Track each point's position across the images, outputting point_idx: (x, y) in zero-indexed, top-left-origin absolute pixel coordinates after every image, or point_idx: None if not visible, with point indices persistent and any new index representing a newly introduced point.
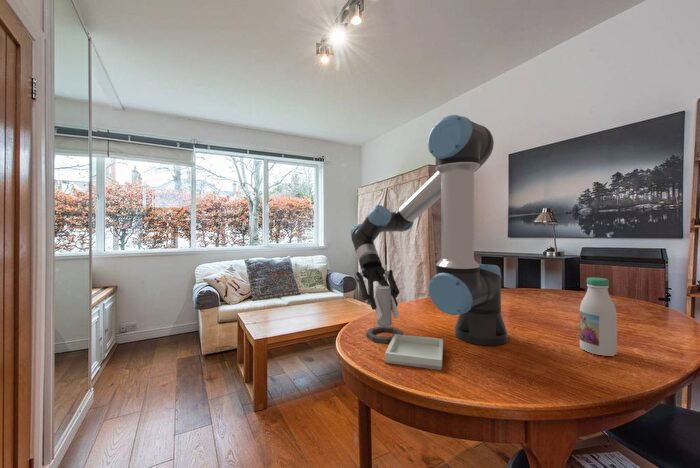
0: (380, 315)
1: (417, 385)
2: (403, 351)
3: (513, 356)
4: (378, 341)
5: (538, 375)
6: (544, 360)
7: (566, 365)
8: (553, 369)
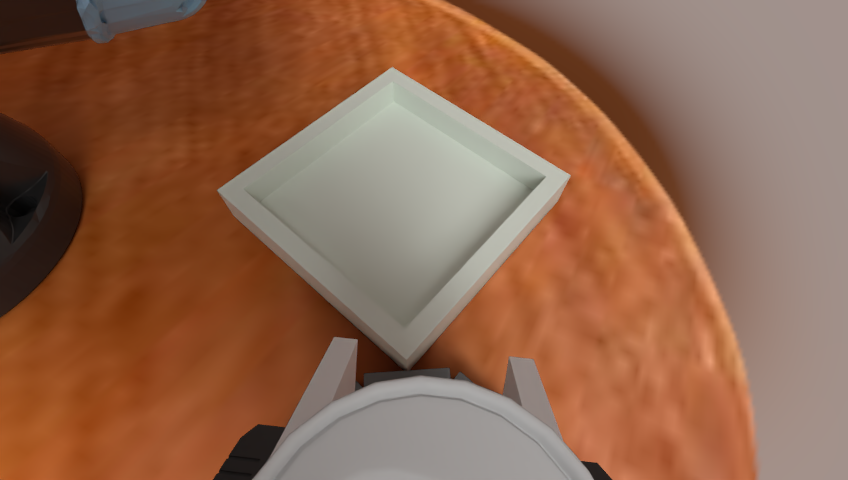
0: (529, 361)
1: (515, 71)
2: (448, 222)
3: (93, 76)
4: None
5: None
6: None
7: None
8: None
